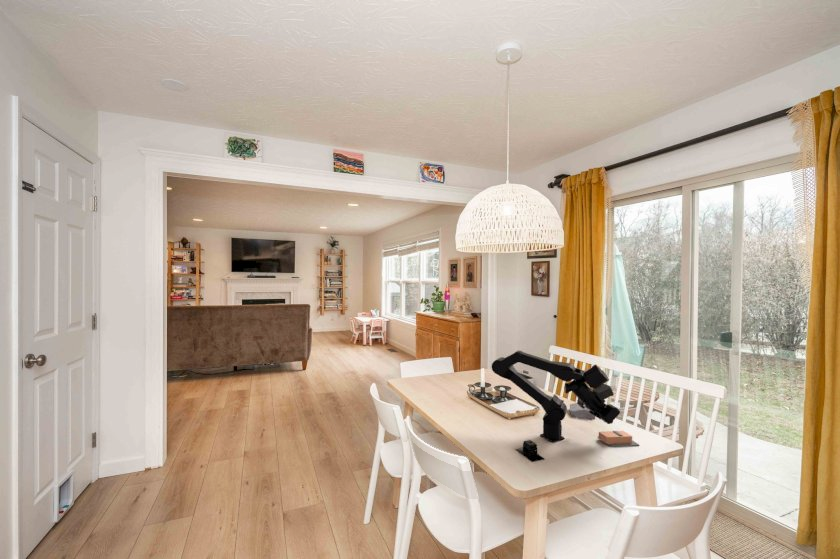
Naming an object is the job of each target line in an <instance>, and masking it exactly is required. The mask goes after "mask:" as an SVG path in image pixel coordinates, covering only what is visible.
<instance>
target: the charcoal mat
mask: <svg viewBox="0 0 840 559" xmlns="http://www.w3.org/2000/svg"><path fill="white" fill-rule="evenodd" d="M597 438H598V439H599V435H598V436H597ZM607 445H608V446H609V447H611V448H615V447H618V448H620V447H639V446H640V444H639V443H638V442H636V441H634V440H633V439H632V443H622V444H607Z"/></svg>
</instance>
